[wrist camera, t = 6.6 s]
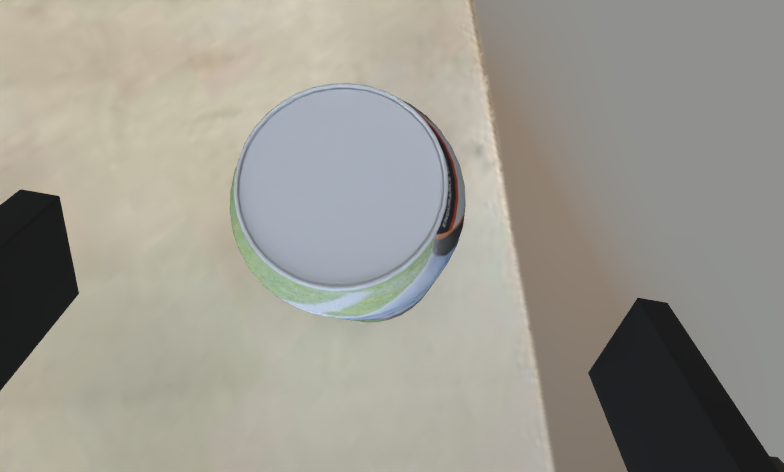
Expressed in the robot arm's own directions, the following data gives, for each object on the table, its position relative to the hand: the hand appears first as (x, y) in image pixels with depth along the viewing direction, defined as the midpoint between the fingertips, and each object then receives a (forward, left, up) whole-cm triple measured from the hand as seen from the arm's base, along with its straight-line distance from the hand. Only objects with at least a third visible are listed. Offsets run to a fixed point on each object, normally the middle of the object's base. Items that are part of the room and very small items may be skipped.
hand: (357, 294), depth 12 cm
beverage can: (+1, -2, -11) cm, 11 cm away
